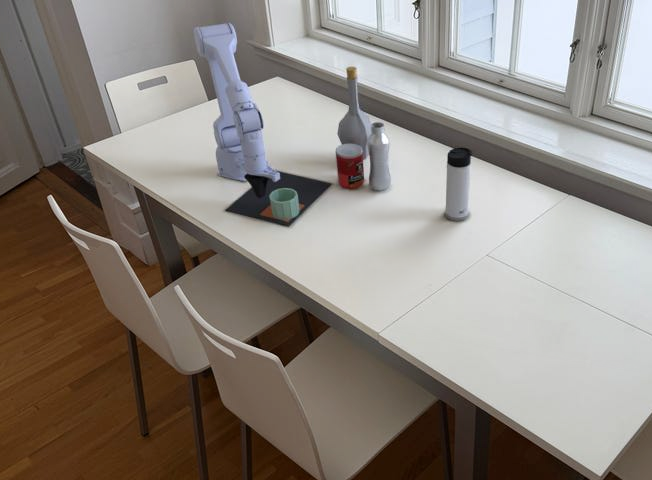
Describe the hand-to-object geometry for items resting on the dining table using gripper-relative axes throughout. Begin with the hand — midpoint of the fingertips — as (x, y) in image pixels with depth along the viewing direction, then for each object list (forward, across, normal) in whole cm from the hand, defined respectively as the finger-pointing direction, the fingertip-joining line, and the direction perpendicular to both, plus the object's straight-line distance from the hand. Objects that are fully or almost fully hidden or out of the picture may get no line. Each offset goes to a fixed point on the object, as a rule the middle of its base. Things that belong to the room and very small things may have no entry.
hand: (261, 196), depth 184 cm
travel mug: (+3, -49, -25) cm, 55 cm away
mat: (+3, -1, -6) cm, 7 cm away
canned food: (+3, -14, -23) cm, 27 cm away
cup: (+3, -8, 0) cm, 9 cm away
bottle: (+3, -8, -35) cm, 36 cm away
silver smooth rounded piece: (+3, -22, -26) cm, 34 cm away
